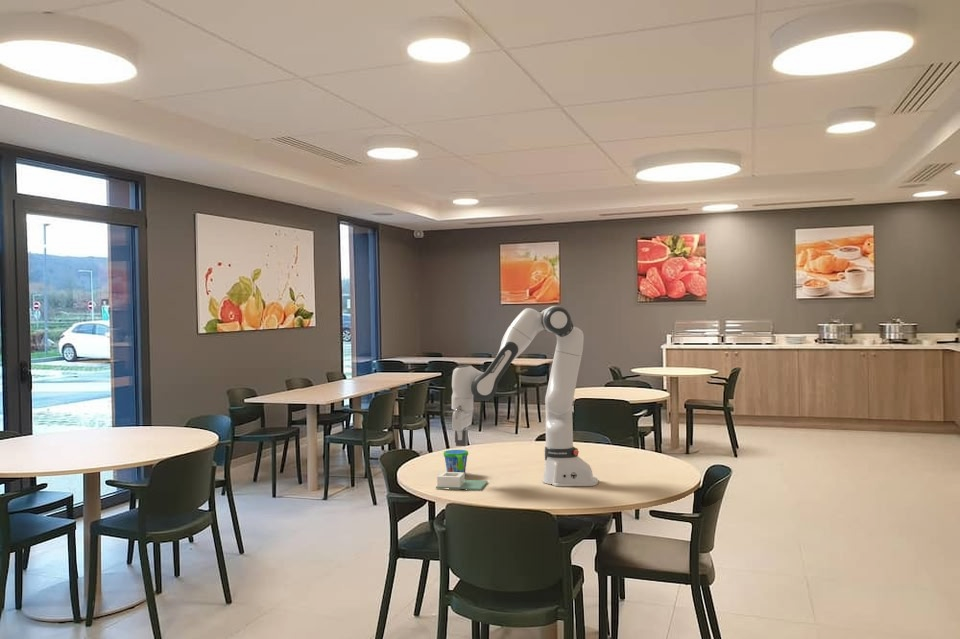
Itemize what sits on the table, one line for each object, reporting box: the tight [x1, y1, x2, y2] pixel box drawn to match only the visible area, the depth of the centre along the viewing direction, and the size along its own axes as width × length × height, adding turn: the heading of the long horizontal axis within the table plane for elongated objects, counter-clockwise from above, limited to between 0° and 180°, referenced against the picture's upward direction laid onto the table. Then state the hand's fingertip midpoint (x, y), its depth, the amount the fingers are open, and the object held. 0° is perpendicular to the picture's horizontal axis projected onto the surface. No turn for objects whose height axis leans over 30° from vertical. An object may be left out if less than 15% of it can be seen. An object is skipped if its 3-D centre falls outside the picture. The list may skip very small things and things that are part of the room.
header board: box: [435, 471, 488, 492], centre depth 273 cm, size 18×14×5 cm
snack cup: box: [443, 449, 469, 474], centre depth 293 cm, size 16×10×10 cm
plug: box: [454, 427, 469, 447], centre depth 277 cm, size 5×4×7 cm
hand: (461, 438), depth 277 cm, fingers closed on plug, 4 cm apart
